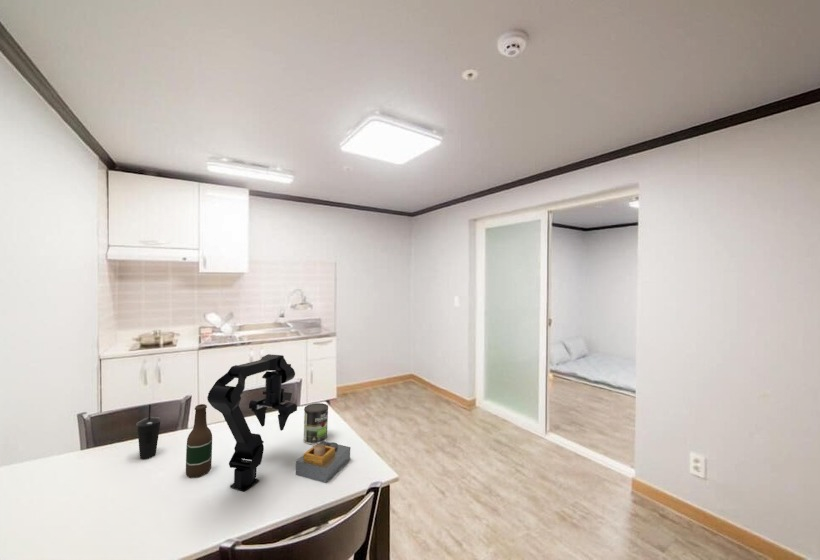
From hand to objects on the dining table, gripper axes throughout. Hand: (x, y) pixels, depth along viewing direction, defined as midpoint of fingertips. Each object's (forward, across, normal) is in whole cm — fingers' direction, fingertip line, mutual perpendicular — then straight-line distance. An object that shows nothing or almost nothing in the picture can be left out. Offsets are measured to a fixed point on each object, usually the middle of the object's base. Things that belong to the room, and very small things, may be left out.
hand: (272, 428), depth 124 cm
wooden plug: (+13, -20, -2) cm, 24 cm away
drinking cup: (+13, +47, +15) cm, 51 cm away
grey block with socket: (+13, -20, -5) cm, 25 cm away
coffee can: (+13, -4, -22) cm, 26 cm away
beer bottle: (+13, +19, +15) cm, 28 cm away
